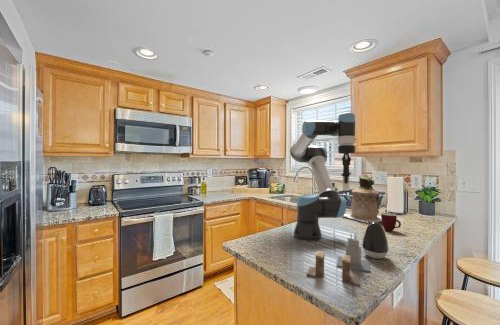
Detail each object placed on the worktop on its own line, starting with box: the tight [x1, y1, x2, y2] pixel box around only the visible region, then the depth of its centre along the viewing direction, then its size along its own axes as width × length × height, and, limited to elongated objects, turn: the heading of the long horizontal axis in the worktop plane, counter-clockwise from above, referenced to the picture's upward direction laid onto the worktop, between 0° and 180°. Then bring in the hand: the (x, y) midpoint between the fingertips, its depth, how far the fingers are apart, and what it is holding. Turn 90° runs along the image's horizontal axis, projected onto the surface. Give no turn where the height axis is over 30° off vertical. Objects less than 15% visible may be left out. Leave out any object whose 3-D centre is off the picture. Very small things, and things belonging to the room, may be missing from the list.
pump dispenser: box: [361, 221, 389, 260], centre depth 104 cm, size 10×10×15 cm
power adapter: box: [345, 232, 362, 266], centre depth 95 cm, size 3×5×12 cm, turn 42°
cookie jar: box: [342, 175, 382, 225], centre depth 175 cm, size 25×25×32 cm
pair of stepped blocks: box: [306, 250, 361, 287], centre depth 85 cm, size 18×7×8 cm, turn 67°
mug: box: [380, 212, 402, 232], centre depth 143 cm, size 11×8×10 cm
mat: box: [336, 256, 372, 273], centre depth 95 cm, size 12×10×1 cm
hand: (346, 188), depth 114 cm, fingers open, 13 cm apart
